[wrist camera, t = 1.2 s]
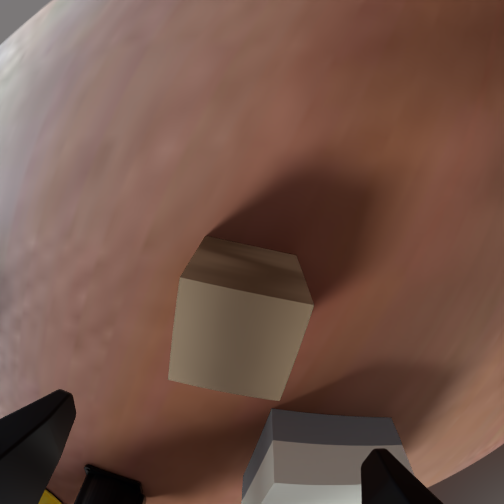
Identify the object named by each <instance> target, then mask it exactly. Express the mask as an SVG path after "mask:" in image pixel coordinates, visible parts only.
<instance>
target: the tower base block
mask: <svg viewBox="0 0 504 504" xmlns="http://www.w3.org/2000/svg"><path fill="white" fill-rule="evenodd" d="M273 440H276V441H285V442H296V443H307V444H322V445H347V446H382V445H402V442H401V440H400V437H399V435H398V433H397V430H396V428H395V426H394V423H393V421H392V418H391V417H356V416H339V415H325V414H314V413H304V412H295V411H287V410H279V409H271V411H270V414H269V416H268V419H267V421H266V424H265V426H264V429H263V431H262V433H261V436H260V438H259V441H258V443H257V445H256V448H255V450H254V452H253V455H252V457H251V459H250V461H249V464H248V466H247V468H246V470H245V473H244V475H243V487H242V500H243V498H244V496H245V494H246V492H247V490H248V489H249V487H250V485H251V483H252V481H253V479H254V477H255V475H256V473H257V471H258V469H259V467H260V465H261V463H262V461H263V459H264V457H265V455H266V453H267V451H268V449H269V447H270V445H271V443H272V441H273Z"/></svg>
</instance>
